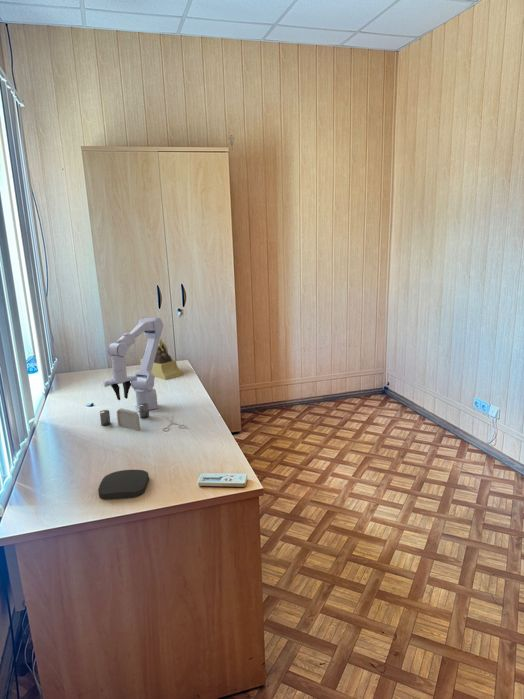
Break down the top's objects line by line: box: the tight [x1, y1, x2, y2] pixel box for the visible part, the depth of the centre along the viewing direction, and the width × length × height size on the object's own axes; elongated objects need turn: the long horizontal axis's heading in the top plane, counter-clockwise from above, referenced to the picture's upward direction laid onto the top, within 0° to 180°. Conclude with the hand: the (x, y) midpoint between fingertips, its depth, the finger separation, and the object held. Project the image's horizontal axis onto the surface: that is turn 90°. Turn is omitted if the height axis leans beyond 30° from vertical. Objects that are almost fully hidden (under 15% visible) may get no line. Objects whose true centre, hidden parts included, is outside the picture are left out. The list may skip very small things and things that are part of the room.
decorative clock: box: [138, 338, 184, 381], centre depth 281 cm, size 28×13×30 cm, turn 46°
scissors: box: [162, 414, 190, 432], centre depth 206 cm, size 11×1×20 cm
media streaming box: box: [97, 469, 150, 501], centre depth 153 cm, size 15×15×3 cm
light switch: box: [116, 408, 141, 432], centre depth 202 cm, size 2×12×8 cm, turn 58°
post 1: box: [99, 409, 112, 427], centre depth 206 cm, size 4×4×6 cm
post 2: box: [139, 403, 150, 420], centre depth 213 cm, size 4×4×6 cm
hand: (122, 398), depth 211 cm, fingers open, 3 cm apart
